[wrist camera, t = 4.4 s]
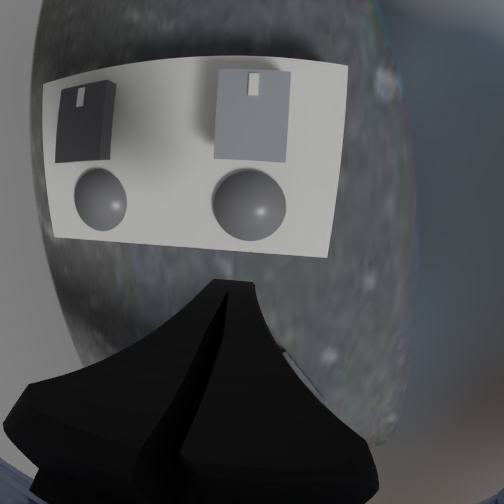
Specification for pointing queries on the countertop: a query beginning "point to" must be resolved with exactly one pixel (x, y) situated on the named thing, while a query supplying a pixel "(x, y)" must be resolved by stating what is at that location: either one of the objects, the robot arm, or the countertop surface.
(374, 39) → the countertop surface
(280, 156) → the block
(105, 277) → the countertop surface
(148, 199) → the switch panel
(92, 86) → the block
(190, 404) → the robot arm
